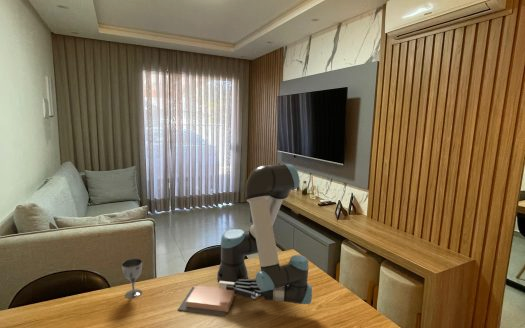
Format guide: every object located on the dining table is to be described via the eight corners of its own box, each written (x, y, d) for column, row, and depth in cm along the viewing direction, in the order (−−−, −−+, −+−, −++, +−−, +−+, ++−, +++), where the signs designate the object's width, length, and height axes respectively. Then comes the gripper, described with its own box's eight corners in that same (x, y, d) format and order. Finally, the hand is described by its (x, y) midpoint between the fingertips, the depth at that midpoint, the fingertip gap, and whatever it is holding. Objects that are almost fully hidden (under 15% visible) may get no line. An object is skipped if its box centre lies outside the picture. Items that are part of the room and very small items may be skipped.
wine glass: (147, 290, 134) (145, 260, 131) (134, 301, 126) (132, 268, 124) (133, 287, 136) (131, 257, 134) (119, 296, 129) (117, 265, 126)
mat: (192, 288, 137) (192, 287, 137) (234, 292, 134) (234, 291, 134) (177, 310, 121) (177, 309, 121) (224, 316, 119) (224, 315, 118)
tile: (234, 294, 132) (196, 290, 134) (234, 289, 132) (196, 285, 134) (227, 312, 120) (186, 306, 123) (228, 306, 120) (186, 301, 122)
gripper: (272, 308, 117) (215, 302, 120) (275, 289, 129) (223, 284, 133) (273, 291, 115) (215, 285, 119) (276, 274, 128) (223, 268, 131)
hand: (219, 284), depth 126 cm, fingers closed
